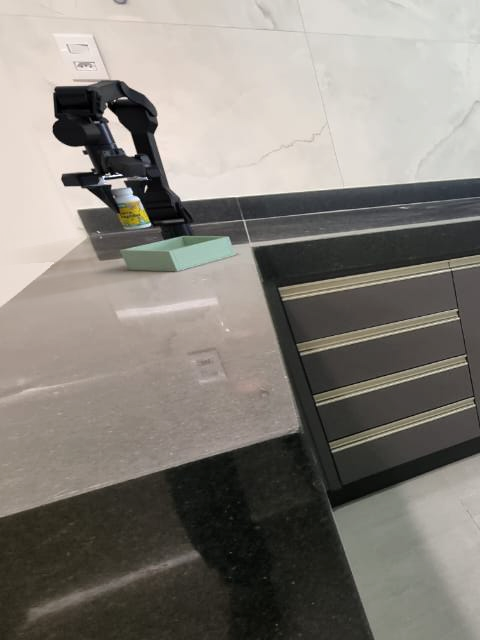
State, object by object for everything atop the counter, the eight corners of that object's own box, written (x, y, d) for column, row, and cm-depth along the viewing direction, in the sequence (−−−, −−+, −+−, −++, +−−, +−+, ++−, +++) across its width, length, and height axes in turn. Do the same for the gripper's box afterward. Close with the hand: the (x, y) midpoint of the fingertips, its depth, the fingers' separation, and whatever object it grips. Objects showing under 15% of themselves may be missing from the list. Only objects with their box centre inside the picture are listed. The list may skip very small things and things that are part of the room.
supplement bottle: (153, 224, 138) (136, 186, 134) (150, 227, 134) (132, 188, 130) (126, 227, 135) (108, 188, 131) (122, 231, 131) (103, 191, 127)
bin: (190, 253, 144) (182, 236, 142) (235, 254, 141) (228, 236, 139) (128, 269, 131) (119, 250, 129) (177, 271, 127) (168, 251, 125)
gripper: (80, 147, 116) (114, 219, 123) (165, 141, 132) (191, 204, 139) (43, 148, 118) (78, 218, 125) (131, 142, 135) (158, 204, 142)
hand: (130, 211), depth 133 cm, fingers closed on supplement bottle, 5 cm apart
